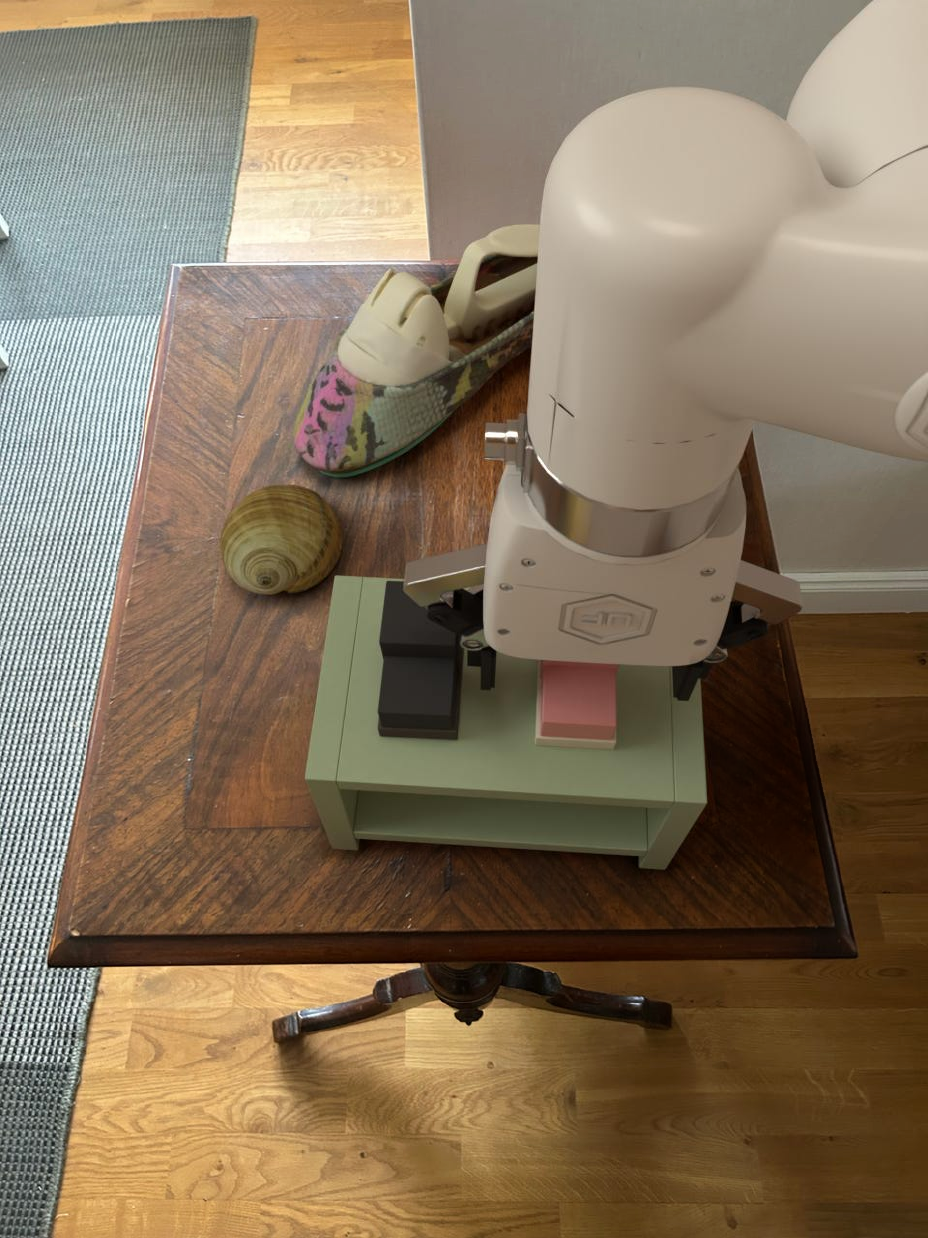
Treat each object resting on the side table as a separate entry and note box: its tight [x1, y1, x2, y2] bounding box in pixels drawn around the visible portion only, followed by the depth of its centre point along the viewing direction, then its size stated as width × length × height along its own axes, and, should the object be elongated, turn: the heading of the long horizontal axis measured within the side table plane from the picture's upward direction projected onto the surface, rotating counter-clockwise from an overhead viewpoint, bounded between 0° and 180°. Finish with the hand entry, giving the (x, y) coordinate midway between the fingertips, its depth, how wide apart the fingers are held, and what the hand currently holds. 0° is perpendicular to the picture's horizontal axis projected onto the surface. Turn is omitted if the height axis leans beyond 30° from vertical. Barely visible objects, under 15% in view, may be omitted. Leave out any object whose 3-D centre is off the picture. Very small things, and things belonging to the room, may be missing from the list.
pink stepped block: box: [535, 660, 619, 750], centre depth 51 cm, size 7×4×4 cm, turn 176°
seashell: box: [219, 484, 343, 596], centre depth 69 cm, size 10×7×8 cm
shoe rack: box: [304, 575, 708, 871], centre depth 58 cm, size 20×12×12 cm, turn 86°
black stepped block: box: [378, 581, 464, 740], centre depth 51 cm, size 7×4×4 cm, turn 176°
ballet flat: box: [294, 222, 540, 478], centre depth 75 cm, size 10×30×11 cm, turn 129°
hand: (583, 669), depth 51 cm, fingers open, 9 cm apart
